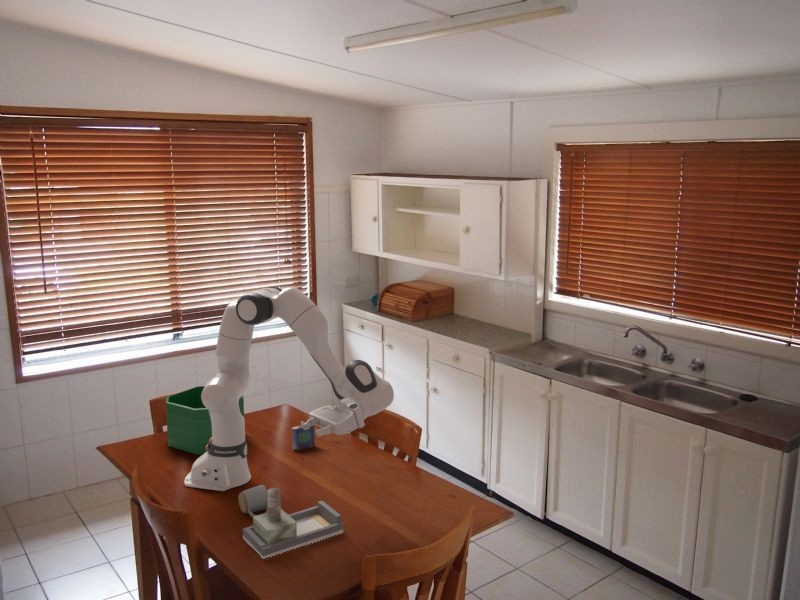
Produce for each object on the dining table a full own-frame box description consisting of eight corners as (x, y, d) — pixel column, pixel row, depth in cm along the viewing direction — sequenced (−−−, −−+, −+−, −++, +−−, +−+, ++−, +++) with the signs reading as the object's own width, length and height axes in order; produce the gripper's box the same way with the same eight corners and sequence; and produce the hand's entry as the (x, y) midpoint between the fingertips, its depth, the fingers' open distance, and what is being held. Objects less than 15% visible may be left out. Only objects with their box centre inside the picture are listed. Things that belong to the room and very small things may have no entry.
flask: (293, 451, 269) (293, 424, 268) (290, 448, 272) (290, 422, 270) (315, 446, 274) (315, 420, 272) (312, 444, 277) (312, 418, 275)
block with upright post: (268, 549, 197) (266, 501, 195) (253, 534, 205) (252, 488, 203) (296, 539, 203) (295, 493, 200) (281, 525, 211) (280, 480, 208)
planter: (207, 423, 298) (205, 382, 294) (253, 435, 285) (252, 393, 281) (158, 443, 276) (156, 399, 272) (206, 457, 263) (204, 412, 259)
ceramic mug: (237, 509, 224) (236, 486, 222) (261, 502, 228) (260, 480, 227) (250, 523, 215) (249, 500, 213) (274, 516, 220) (274, 493, 218)
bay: (263, 560, 195) (262, 543, 194) (242, 538, 206) (242, 522, 205) (343, 532, 210) (343, 517, 209) (320, 514, 221) (320, 498, 220)
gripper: (330, 396, 224) (292, 414, 217) (361, 408, 207) (321, 428, 200) (335, 414, 226) (298, 432, 219) (367, 427, 208) (327, 447, 202)
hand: (309, 430), depth 209 cm, fingers open, 8 cm apart
